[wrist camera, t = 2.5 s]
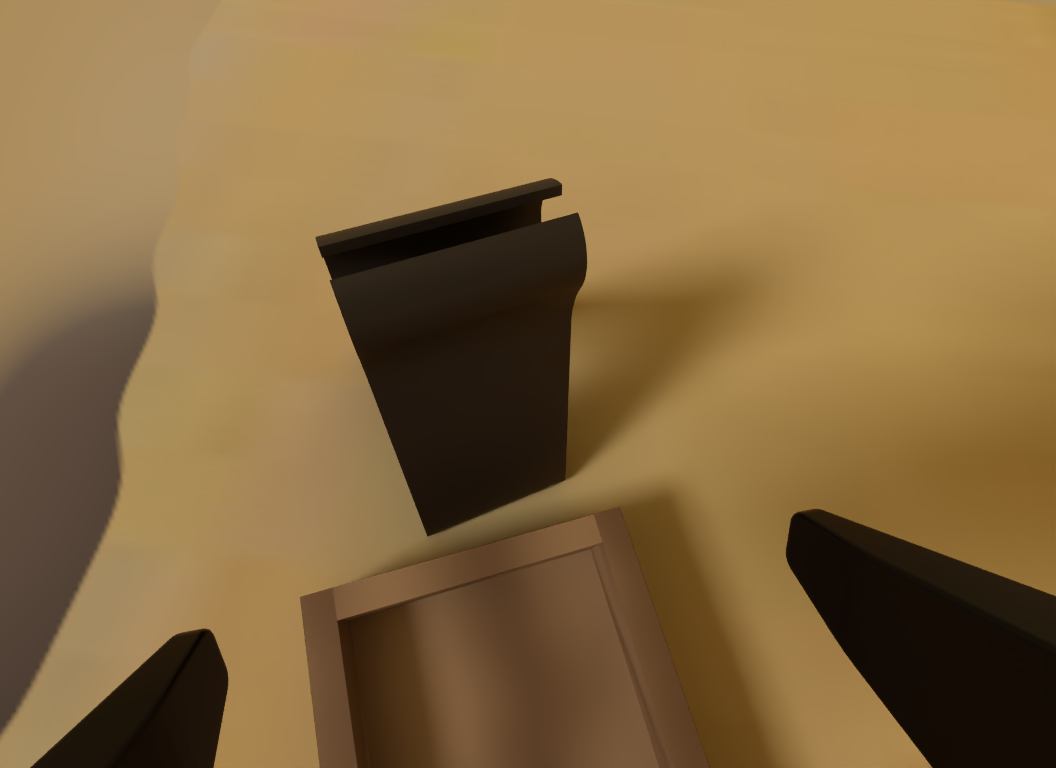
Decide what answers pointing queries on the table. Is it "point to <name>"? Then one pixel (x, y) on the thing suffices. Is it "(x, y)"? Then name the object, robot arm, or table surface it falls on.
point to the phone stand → (466, 342)
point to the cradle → (500, 660)
